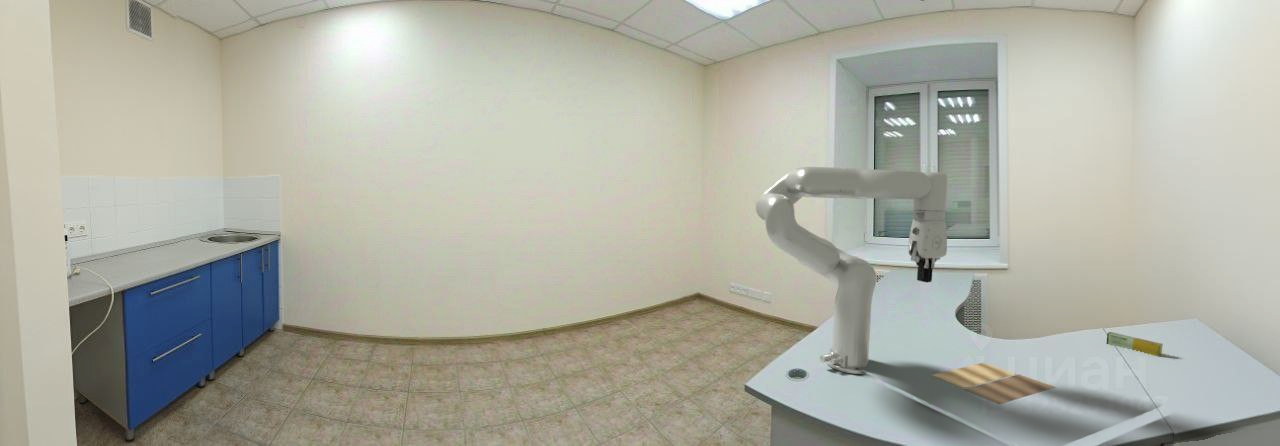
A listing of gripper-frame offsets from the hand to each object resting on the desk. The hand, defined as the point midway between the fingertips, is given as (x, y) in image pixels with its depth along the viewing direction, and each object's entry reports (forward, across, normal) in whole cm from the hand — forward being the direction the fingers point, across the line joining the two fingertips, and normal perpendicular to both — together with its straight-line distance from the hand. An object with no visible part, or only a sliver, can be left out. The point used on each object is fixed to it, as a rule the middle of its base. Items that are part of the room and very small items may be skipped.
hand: (924, 281), depth 127 cm
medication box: (+26, +77, -17) cm, 83 cm away
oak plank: (+25, +5, -12) cm, 28 cm away
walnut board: (+25, +6, -20) cm, 33 cm away
